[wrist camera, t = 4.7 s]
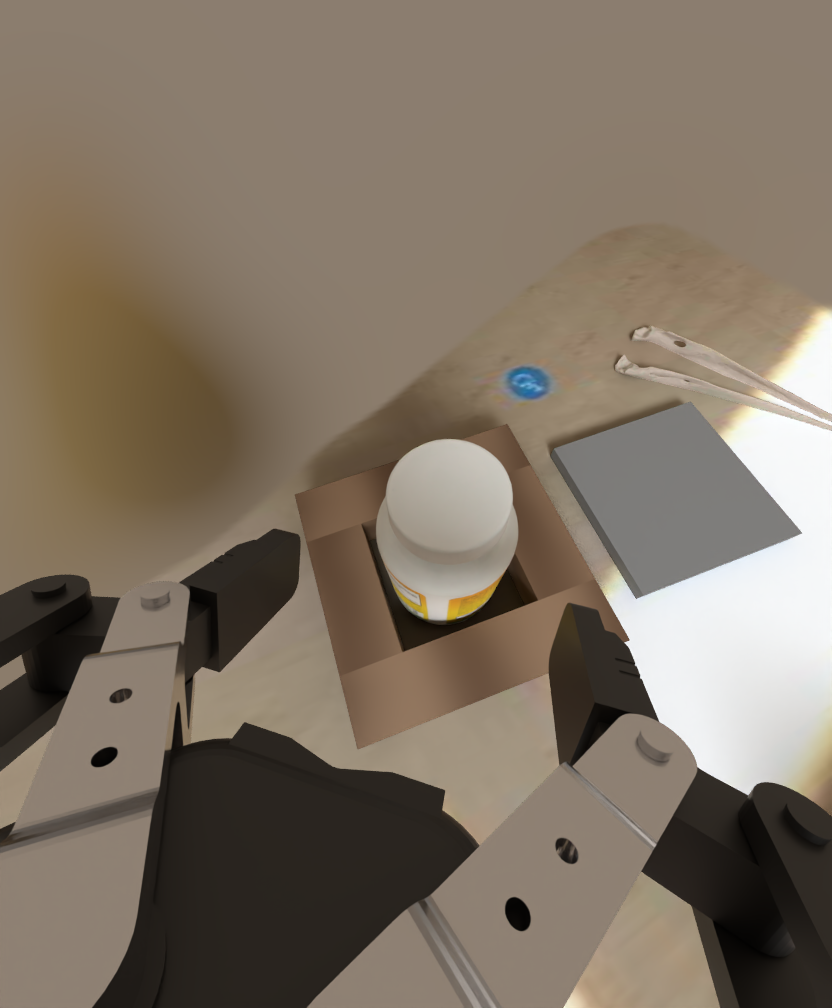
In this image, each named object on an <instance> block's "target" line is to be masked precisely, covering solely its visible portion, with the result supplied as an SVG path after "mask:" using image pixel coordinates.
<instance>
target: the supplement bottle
mask: <svg viewBox="0 0 832 1008" xmlns="http://www.w3.org/2000/svg"><path fill="white" fill-rule="evenodd" d="M376 538H377V544H378V549H379V551H380V554H381V557H382V560H383V562H384V565H385V568H386V570H387V572H388V575H389V577H390V579H391V582H392V585H393V587H394V590H395V592H396V594H397V596H398V598H399V600H400V601H401V603H402V604H403V605H404V606H405V608H406V609H407V610H408V611H409V612H411V613H412V614H413V615H414V616H416V617H418V618H419V619H421V620H423V621H426V622H428V623H432V624H438V625H451V624H456V623H460V622H463V621H465V620H467V619H469V618H471V617H472V616H474V615H475V614H477V613H478V612H479V611H480V610H481V609H482V608H483V607H484V606H485V605H486V604H487V602H488V601H489V599H490V597H491V596H492V594H493V592H494V590H495V588H496V587H497V585H498V583H499V581H500V580H501V578H502V576H503V574H504V573H505V571H506V569H507V568H508V566H509V564H510V562H511V560H512V558H513V556H514V553H515V550H516V546H517V542H518V521H517V516H516V512H515V509H514V507H513V492H512V484H511V482H510V479H509V476H508V474H507V472H506V470H505V468H504V467H503V465H502V464H501V463H500V461H499V460H498V459H497V458H496V457H495V456H494V455H492V454H491V453H490V452H489V451H487V450H486V449H484V448H482V447H481V446H478V445H476V444H474V443H471V442H467V441H463V440H457V439H441V440H435V441H431V442H427V443H425V444H422V445H420V446H418V447H416V448H414V449H412V450H411V451H409V452H408V453H407V454H405V455H404V456H403V457H402V458H401V459H400V460H399V462H398V463H397V464H396V466H395V467H394V469H393V471H392V472H391V475H390V477H389V479H388V483H387V488H386V496H385V498H384V500H383V502H382V504H381V506H380V509H379V512H378V516H377V522H376Z"/></svg>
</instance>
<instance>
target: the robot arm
mask: <svg viewBox="0 0 832 1008" xmlns="http://www.w3.org/2000/svg"><path fill="white" fill-rule="evenodd" d="M299 563H300V537H299V535H298V534H295V533H291V532H287V531H282V530H278V529H273V530H271V531H269V532H268V533H266V534H265V535H263V536H262V537H260V538H259V539H257V540H252V541H248V542H245V543H242V544H239V545H237V546H235V547H233V548H232V549H230V550H229V551H227V552H226V553H225V554H224V555H221V556H219V557H218V558H216V559H215V560H214V562H210V563H209V564H207V565H206V566H204V567H202V568H201V569H199V570H198V571H196V572H195V573H193V574H192V575H190V576H188V577H187V578H185V579H184V580H182V581H181V582H179V583H177V582H171V581H159V582H152V583H147V584H144V585H141V586H138V587H136V588H133V589H131V590H130V591H128V592H127V593H125V594H124V595H123V596H122V597H121V598H114V597H94V596H91V591H90V585H89V582H88V580H87V579H85V578H84V577H81V576H76V575H55V576H48V577H43V578H40V579H36V580H33V581H30V582H27V583H25V584H23V585H21V586H19V587H17V588H15V589H12V590H10V591H8V592H6V593H4V594H2V595H0V667H2V666H4V665H5V664H7V663H9V662H10V661H12V660H13V659H15V658H16V657H18V656H20V655H22V659H23V663H24V666H25V670H26V673H25V674H24V675H22V676H21V677H19V678H18V679H16V680H15V681H13V682H12V683H10V684H9V685H7V686H6V687H4V688H3V689H1V690H0V771H1V770H3V769H4V768H5V767H6V766H7V765H9V764H10V763H11V762H12V761H13V760H15V759H16V758H17V757H18V756H19V755H21V754H22V753H23V752H24V751H25V750H27V749H28V748H29V747H30V746H31V745H32V744H34V743H35V742H36V741H37V740H38V739H40V738H41V737H42V736H43V735H44V734H46V733H47V732H48V731H49V730H50V729H52V728H53V727H54V726H55V725H56V726H55V728H54V731H53V733H52V736H51V738H50V741H49V743H48V745H47V748H46V750H45V753H44V755H43V758H42V760H41V762H40V765H39V767H38V770H37V772H36V775H35V777H34V779H33V782H32V784H31V787H30V789H29V792H28V794H27V796H26V799H25V801H24V804H23V806H22V809H21V811H20V813H19V816H18V818H17V821H16V822H14V823H12V824H10V825H8V826H6V827H3V828H1V829H0V1008H563V1007H564V1005H565V1004H566V1002H567V1000H568V998H569V997H570V995H571V993H572V991H573V990H574V988H575V986H576V984H577V983H578V981H579V979H580V977H581V976H582V974H583V972H584V970H585V969H586V967H587V965H588V963H589V962H590V960H591V958H592V956H593V955H594V953H595V951H596V949H597V948H598V946H599V944H600V942H601V941H602V939H603V937H604V935H605V934H606V932H607V930H608V928H609V927H610V925H611V923H612V921H613V920H614V918H615V916H616V914H617V913H618V911H619V909H620V907H621V906H622V904H623V902H624V900H625V899H626V897H627V895H628V893H629V892H630V890H631V888H632V886H633V885H634V883H635V881H636V879H637V878H638V876H639V874H640V872H643V873H644V874H646V875H647V876H649V877H650V878H652V879H653V880H654V881H656V882H657V883H659V884H660V885H662V886H663V887H665V888H666V889H668V890H669V891H671V892H672V893H674V894H675V895H677V896H678V897H680V898H681V899H682V900H684V901H685V902H687V903H688V904H690V905H691V906H692V909H693V912H694V916H695V920H696V923H697V927H698V930H699V934H700V937H701V941H702V944H703V948H704V951H705V955H706V958H707V962H708V965H709V969H710V973H711V976H712V980H713V983H714V987H715V990H716V994H717V997H718V1001H719V1004H720V1008H832V817H831V816H830V815H829V814H828V813H827V812H826V811H824V810H823V809H822V808H821V807H819V806H818V805H817V804H815V803H814V802H812V801H811V800H809V799H808V798H806V797H805V796H803V795H801V794H800V793H798V792H796V791H794V790H792V789H790V788H787V787H785V786H782V785H779V784H775V783H769V782H764V783H759V784H757V785H756V786H755V787H754V788H753V790H752V791H751V793H750V794H749V796H748V795H746V794H744V793H742V792H741V791H739V790H737V789H735V788H733V787H731V786H729V785H728V784H726V783H724V782H722V781H720V780H718V779H716V778H714V777H713V776H711V775H709V774H707V773H706V772H704V771H702V770H701V769H699V768H698V767H697V764H696V760H695V758H694V755H693V754H692V752H691V750H690V749H689V747H688V746H687V745H686V744H685V742H684V741H683V740H682V739H681V738H680V737H679V736H678V735H677V734H675V733H674V732H673V731H672V730H670V729H669V728H668V727H666V726H665V725H663V724H662V723H660V722H659V720H658V718H657V715H656V713H655V710H654V708H653V706H652V703H651V701H650V698H649V696H648V693H647V691H646V688H645V686H644V684H643V681H642V679H640V674H639V671H638V669H637V667H636V666H635V662H634V659H633V657H632V654H631V652H630V649H629V648H628V646H627V645H626V644H625V643H624V642H623V641H622V640H621V639H620V638H619V637H618V635H617V634H616V633H613V632H610V631H606V630H605V629H604V626H603V623H602V620H601V617H600V614H599V612H598V610H597V609H593V608H589V607H585V606H581V605H577V604H573V603H567V605H566V607H565V609H564V612H563V615H562V618H561V621H560V624H559V627H558V630H557V633H556V636H555V639H554V641H553V644H552V648H551V651H550V657H549V679H550V687H551V696H552V705H553V713H554V722H555V731H556V739H557V748H558V757H559V767H558V768H557V769H556V770H555V771H554V772H553V773H552V774H551V775H550V776H549V777H548V778H547V779H546V780H545V781H544V782H543V783H542V784H541V785H540V786H539V787H538V788H537V789H536V790H535V791H534V792H533V793H532V794H531V795H530V796H529V797H528V798H527V799H526V800H525V801H524V802H523V803H522V804H521V805H520V806H519V807H518V808H517V809H516V810H515V811H514V812H513V813H512V814H511V815H510V816H509V817H508V818H507V819H506V820H505V821H504V822H503V823H502V824H501V825H500V826H499V827H498V828H497V829H496V830H495V831H494V832H493V833H492V834H491V835H490V836H489V837H488V838H487V839H486V840H485V841H484V842H483V843H482V844H481V845H480V846H479V844H478V843H477V842H476V840H475V839H474V838H473V837H472V836H471V835H470V834H469V832H468V831H467V830H466V829H465V828H464V827H463V826H462V825H461V824H459V823H458V822H457V821H456V820H455V819H454V818H452V817H451V816H450V815H448V814H447V813H445V812H444V811H443V810H442V807H443V801H444V795H445V790H443V789H440V788H437V787H434V786H431V785H428V784H425V783H422V782H419V781H416V780H413V779H410V778H407V777H404V776H401V775H399V774H396V773H393V772H379V771H365V770H351V769H339V768H335V767H332V766H331V765H329V764H328V763H326V762H325V761H323V760H322V759H320V758H319V757H317V756H316V755H315V754H313V753H312V752H310V751H309V750H307V749H306V748H305V747H303V746H302V745H300V744H299V743H297V742H296V741H294V740H293V739H292V738H290V737H287V736H284V735H281V734H278V733H275V732H272V731H269V730H266V729H263V728H260V727H257V726H254V725H251V724H248V723H245V722H244V724H243V725H242V726H241V728H240V729H239V730H238V732H237V733H236V734H235V735H234V737H233V738H232V739H231V738H225V739H211V740H205V741H199V742H195V743H191V732H192V719H193V705H194V692H195V673H196V672H197V671H198V670H199V669H200V668H201V667H205V668H208V669H211V670H214V671H217V672H221V670H222V669H223V668H224V667H225V666H226V665H227V664H228V663H229V662H230V661H231V660H232V659H233V658H234V657H235V656H236V655H237V654H238V653H239V652H240V651H241V650H242V649H243V648H244V647H245V646H246V644H247V643H248V642H249V641H250V640H251V639H252V638H253V637H254V636H255V635H256V634H257V633H258V632H259V631H260V630H261V629H262V628H263V627H264V626H265V625H266V624H267V623H268V622H269V621H270V620H271V619H272V617H273V616H274V615H275V614H276V613H277V612H278V611H279V610H280V609H281V608H282V607H283V606H284V605H285V604H286V603H287V602H288V601H289V600H290V599H291V598H292V596H293V594H294V593H295V590H296V588H297V585H298V580H299Z"/></svg>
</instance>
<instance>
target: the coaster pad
mask: <svg viewBox="0 0 832 1008" xmlns="http://www.w3.org/2000/svg"><path fill="white" fill-rule="evenodd" d="M551 458H552V459H553V461H554V463H555V464H556V466H557V468H558V469H559V471H560V473H561V474H562V476H563V478H564V479H565V481H566V483H567V484H568V486H569V488H570V489H571V491H572V493H573V494H574V496H575V498H576V499H577V501H578V503H579V504H580V506H581V508H582V509H583V511H584V513H585V514H586V516H587V518H588V519H589V521H590V523H591V524H592V526H593V528H594V529H595V531H596V533H597V534H598V536H599V538H600V539H601V541H602V543H603V544H604V546H605V548H606V549H607V551H608V553H609V554H610V556H611V558H612V559H613V561H614V563H615V564H616V566H617V568H618V569H619V571H620V573H621V574H622V576H623V578H624V579H625V581H626V583H627V584H628V586H629V588H630V589H631V591H632V593H633V594H634V596H635V598H636V599H637V598H639V597H642V596H644V595H647V594H650V593H652V592H655V591H657V590H660V589H662V588H665V587H667V586H670V585H673V584H675V583H678V582H680V581H683V580H685V579H688V578H690V577H693V576H696V575H698V574H701V573H703V572H706V571H708V570H711V569H713V568H716V567H719V566H721V565H724V564H726V563H729V562H731V561H734V560H737V559H739V558H742V557H744V556H747V555H749V554H752V553H754V552H757V551H760V550H762V549H765V548H767V547H770V546H772V545H775V544H777V543H780V542H783V541H785V540H788V539H790V538H792V537H795V536H797V535H799V534H801V533H802V532H801V531H800V530H799V529H798V527H797V526H796V525H795V524H794V523H793V522H792V520H791V519H790V518H789V517H788V516H787V515H786V513H785V512H784V511H783V510H782V509H781V507H780V506H779V505H778V504H777V503H776V502H775V500H774V499H773V498H772V497H771V496H770V495H769V493H768V492H767V491H766V490H765V489H764V487H763V486H762V485H761V484H760V483H759V482H758V480H757V479H756V478H755V477H754V476H753V475H752V473H751V472H750V471H749V470H748V469H747V467H746V466H745V465H744V464H743V463H742V462H741V460H740V459H739V458H738V457H737V456H736V455H735V453H734V452H733V451H732V450H731V449H730V447H729V446H728V445H727V444H726V443H725V442H724V440H723V439H722V438H721V437H720V436H719V435H718V433H717V432H716V431H715V430H714V429H713V427H712V426H711V425H710V424H709V423H708V422H707V420H706V419H705V418H704V417H703V416H702V415H701V413H700V412H699V411H698V410H697V409H696V407H695V406H694V405H693V404H692V403H691V402H688V403H685V404H682V405H679V406H676V407H673V408H670V409H668V410H665V411H662V412H659V413H656V414H653V415H650V416H647V417H644V418H641V419H638V420H636V421H633V422H630V423H627V424H624V425H621V426H618V427H615V428H612V429H609V430H606V431H603V432H601V433H598V434H595V435H592V436H589V437H586V438H583V439H580V440H577V441H574V442H571V443H568V444H566V445H563V446H560V447H557V448H554V449H553V451H552V454H551Z"/></svg>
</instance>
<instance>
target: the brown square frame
mask: <svg viewBox="0 0 832 1008" xmlns="http://www.w3.org/2000/svg"><path fill="white" fill-rule="evenodd" d="M461 440H463V441H467V442H471V443H474V444H476V445H478V446H481V447H482V448H484V449H486V450H487V451H489V452H490V453H491V454H492V455H494V456H495V457H496V458H497V459H498V460H499V461H500V463H501V464H502V465H503V467H504V468H505V470H506V472H507V474H508V476H509V479H510V482H511V484H512V492H513V507H514V509H515V512H516V516H517V521H518V542H517V546H516V550H515V553H514V556H513V558H512V560H511V562H510V564H509V566H508V568H507V569H508V571H509V573H510V575H511V577H512V579H513V582H514V584H515V586H516V588H517V590H518V592H519V594H520V596H521V598H522V601H523V603H524V605H525V606H523V607H520V608H517V609H515V610H512V611H509V612H507V613H504V614H502V615H499V616H496V617H494V618H491V619H488V620H486V621H483V622H481V623H478V624H475V625H473V626H470V627H468V628H465V629H462V630H460V631H457V632H454V633H452V634H449V635H447V636H444V637H441V638H439V639H436V640H433V641H431V642H428V643H426V644H423V645H420V646H418V647H415V648H412V649H410V650H407V651H405V650H404V647H403V644H402V641H401V638H400V635H399V632H398V628H397V625H396V622H395V619H394V616H393V613H392V610H391V607H390V604H389V600H388V597H387V594H386V591H385V588H384V585H383V582H382V579H381V576H380V573H379V569H378V566H377V563H376V560H375V557H374V554H373V551H372V548H371V545H370V542H369V541H370V540H373V539H376V522H377V516H378V512H379V509H380V506H381V504H382V502H383V500H384V498H385V496H386V488H387V483H388V479H389V477H390V475H391V472H392V471H393V469H394V467H395V466H396V464H397V463H398V462H399V460H398V461H395V462H392V463H389V464H386V465H383V466H380V467H377V468H374V469H371V470H368V471H365V472H362V473H359V474H356V475H353V476H350V477H347V478H344V479H341V480H338V481H335V482H332V483H329V484H326V485H323V486H320V487H317V488H314V489H311V490H308V491H305V492H301V493H298V494H295V497H296V502H297V506H298V510H299V514H300V518H301V522H302V526H303V530H304V534H305V538H306V542H307V546H308V550H309V554H310V558H311V562H312V566H313V570H314V574H315V579H316V583H317V587H318V591H319V595H320V599H321V603H322V607H323V611H324V615H325V619H326V623H327V627H328V631H329V635H330V639H331V643H332V647H333V651H334V656H335V660H336V664H337V668H338V672H339V676H340V680H341V684H342V688H343V692H344V696H345V700H346V704H347V708H348V712H349V716H350V720H351V724H352V728H353V733H354V737H355V741H356V745H357V749H360V748H363V747H365V746H367V745H370V744H372V743H375V742H377V741H380V740H382V739H385V738H387V737H390V736H392V735H395V734H397V733H400V732H402V731H405V730H407V729H410V728H412V727H415V726H417V725H420V724H422V723H425V722H427V721H430V720H432V719H435V718H437V717H440V716H442V715H445V714H447V713H450V712H452V711H455V710H457V709H460V708H462V707H465V706H467V705H470V704H472V703H475V702H477V701H480V700H482V699H485V698H487V697H490V696H492V695H494V694H497V693H499V692H502V691H504V690H507V689H509V688H512V687H514V686H517V685H519V684H522V683H524V682H527V681H529V680H532V679H534V678H537V677H539V676H542V675H544V674H547V673H549V657H550V651H551V648H552V644H553V641H554V639H555V636H556V633H557V630H558V627H559V624H560V621H561V618H562V615H563V612H564V609H565V607H566V605H567V603H573V604H577V605H581V606H585V607H589V608H593V609H597V610H598V612H599V614H600V617H601V620H602V623H603V626H604V629H605V630H606V631H610V632H613V633H616V634H617V635H618V637H619V638H620V639H621V640H622V641H623V642H626V641H629V638H628V636H627V634H626V633H625V631H624V629H623V627H622V626H621V624H620V622H619V620H618V618H617V617H616V615H615V613H614V611H613V610H612V608H611V606H610V604H609V603H608V601H607V599H606V597H605V596H604V594H603V592H602V590H601V589H600V587H599V585H598V583H597V581H596V580H595V578H594V576H593V574H592V573H591V571H590V569H589V567H588V566H587V564H586V562H585V560H584V559H583V557H582V555H581V553H580V551H579V550H578V548H577V546H576V544H575V543H574V541H573V539H572V537H571V536H570V534H569V532H568V530H567V529H566V527H565V525H564V523H563V522H562V520H561V518H560V516H559V514H558V513H557V511H556V509H555V507H554V506H553V504H552V502H551V500H550V499H549V497H548V495H547V493H546V492H545V490H544V488H543V486H542V485H541V483H540V481H539V479H538V477H537V476H536V474H535V472H534V470H533V469H532V467H531V465H530V463H529V462H528V460H527V458H526V456H525V455H524V453H523V451H522V449H521V448H520V446H519V444H518V442H517V440H516V439H515V437H514V435H513V433H512V432H511V430H510V428H509V426H508V425H507V424H506V425H503V426H500V427H497V428H494V429H491V430H488V431H485V432H482V433H479V434H476V435H473V436H470V437H467V438H464V439H461Z"/></svg>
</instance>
